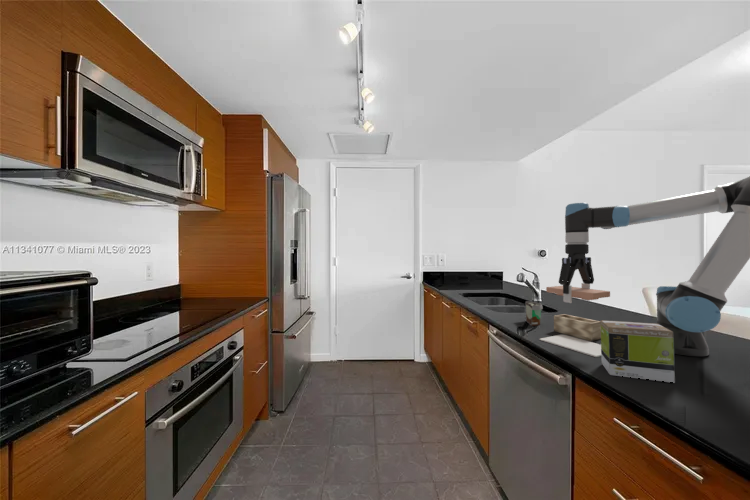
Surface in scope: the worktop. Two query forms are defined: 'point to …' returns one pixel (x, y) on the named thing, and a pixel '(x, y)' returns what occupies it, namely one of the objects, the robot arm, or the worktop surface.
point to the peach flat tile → (580, 292)
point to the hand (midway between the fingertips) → (576, 301)
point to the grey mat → (575, 344)
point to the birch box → (577, 327)
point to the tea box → (638, 350)
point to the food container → (533, 313)
